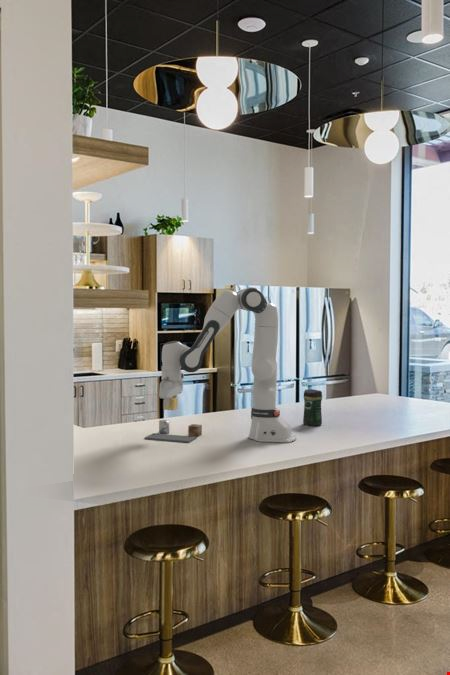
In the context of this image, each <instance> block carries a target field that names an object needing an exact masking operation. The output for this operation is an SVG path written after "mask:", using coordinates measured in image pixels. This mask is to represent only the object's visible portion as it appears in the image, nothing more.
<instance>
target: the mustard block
mask: <svg viewBox="0 0 450 675" xmlns="http://www.w3.org/2000/svg"><path fill="white" fill-rule="evenodd" d="M170 403H171V404H170V405H171V406H170V407H166V402H165V399H163V410H165V411H175V410H177V409H178V407H179V406H178V405H179V398H178V397H177V398H172V397H170Z"/></svg>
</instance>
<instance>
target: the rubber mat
mask: <svg viewBox="0 0 450 675" xmlns="http://www.w3.org/2000/svg"><path fill="white" fill-rule="evenodd" d="M197 438H198V437H193V436H188V435H178V434H159V433H154V432H153V433H151V434H149V435H147V436H145V437H144V440H150V441H151V440H152V441H161V442H174V443H184V444H185V443H186V444H189V443H191V442H193V441H194V440H196V439H197Z"/></svg>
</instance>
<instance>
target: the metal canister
mask: <svg viewBox="0 0 450 675" xmlns="http://www.w3.org/2000/svg"><path fill="white" fill-rule="evenodd" d="M159 433H160V434H168V435H170V420H168V419H160V420H159V421H158V434H159Z"/></svg>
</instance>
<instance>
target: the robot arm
mask: <svg viewBox="0 0 450 675" xmlns="http://www.w3.org/2000/svg"><path fill="white" fill-rule="evenodd" d="M240 309H241V310H243V311H247V312H252V313H253V315H254V331H253V332H254V336H253V338H254V339H253V349H252V358H251V359H252V360H251V373H252V376H253V381H252V382H253V384H252V397H251V398H252V400H251V401H252V404H251V411H250V417H251V418H250V419H251V422H250V429H249V434H248V439H250V440H254V441H256V442H262V443H264V442H266V443H292V441H293V442H294V440H295V441H296V440H297V436H296V435H295V434H293V433H292V427H291V425H290V423H288V422H287V421H286V420H285V419H283V418H282V417H281V416H280V414H281V413H280V412H281V409H278V408H277V404H276V403H277V384H278V383H277V381H278V379H277V378H278V362H277V351H278V340H279V339H278V338H279V337H278V336H279V314H278V313H279V312H278V307H277V306H276V305H275V304H274V303H272V302H268V301H267V299H266V297H265V296H264V293H263V292H262V291H261V289H259V288H258V287H249V286H248V287H245V288H243V289H241V290H239V291H238V292H235V291H234V290H231V289H224V290H223V291H222V292H221V293H220V294H218V296H217V297H216V298H215V300H214V301H213V302H212V303H211V305H210V307H209V308H208V310H207V312H206V315H205V317H204V319H203V320H204V322H203V327H202V330H201V332H200V333H199V335H198V336H197V338H196V340H195V341H194V343H193V344H192V346H191V347H189V346H187V345H185V344H183V343H181V342H180V341H178V340H172V341H168V342H166V343H164V344H163V346H162V349H161V362H162V367H161V381H160V383H159V390H158V397H159V399H163V400H164V399H165V402H166V407H170V406H171V405H170V404H171V403H170V398H178V395H179V394H182V393H183V388H184V380H183V379H184V378H185V374H184V373H183V372H182V371H181V370H183V371H184V372H187V373H195V372H197V371H199V370H200V368H201V367H202V365H203V358H204V355H205V354H206V351H207V350H208V348H209V347H210V345H211V344H212V342H213V341H214V338H216V337H217V336H218V334H219V333H220V332H222V330H224V328H225V327H226V326H227V325H228V324H229V322H230V321H231V319H232V318H233V316H234V315H235V313H236V312H237V311H238V310H240Z"/></svg>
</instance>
